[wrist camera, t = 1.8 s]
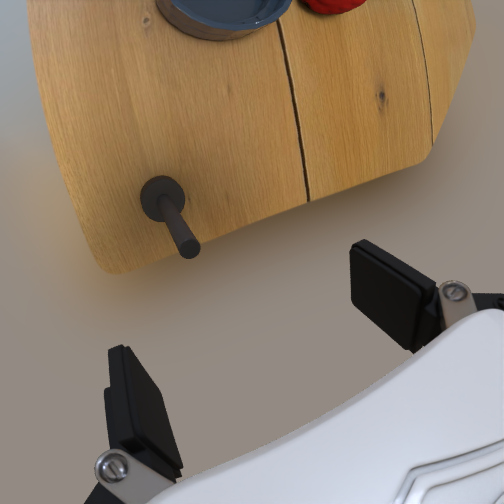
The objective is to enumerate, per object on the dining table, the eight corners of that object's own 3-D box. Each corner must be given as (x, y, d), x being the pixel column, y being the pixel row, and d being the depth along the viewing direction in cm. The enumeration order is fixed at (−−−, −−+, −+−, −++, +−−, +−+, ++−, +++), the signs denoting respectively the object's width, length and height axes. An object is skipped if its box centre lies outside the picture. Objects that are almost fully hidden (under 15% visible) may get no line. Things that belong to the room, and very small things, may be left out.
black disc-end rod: (148, 222, 32) (169, 289, 20) (134, 184, 29) (145, 231, 18) (186, 207, 33) (229, 264, 21) (174, 169, 31) (213, 205, 19)
